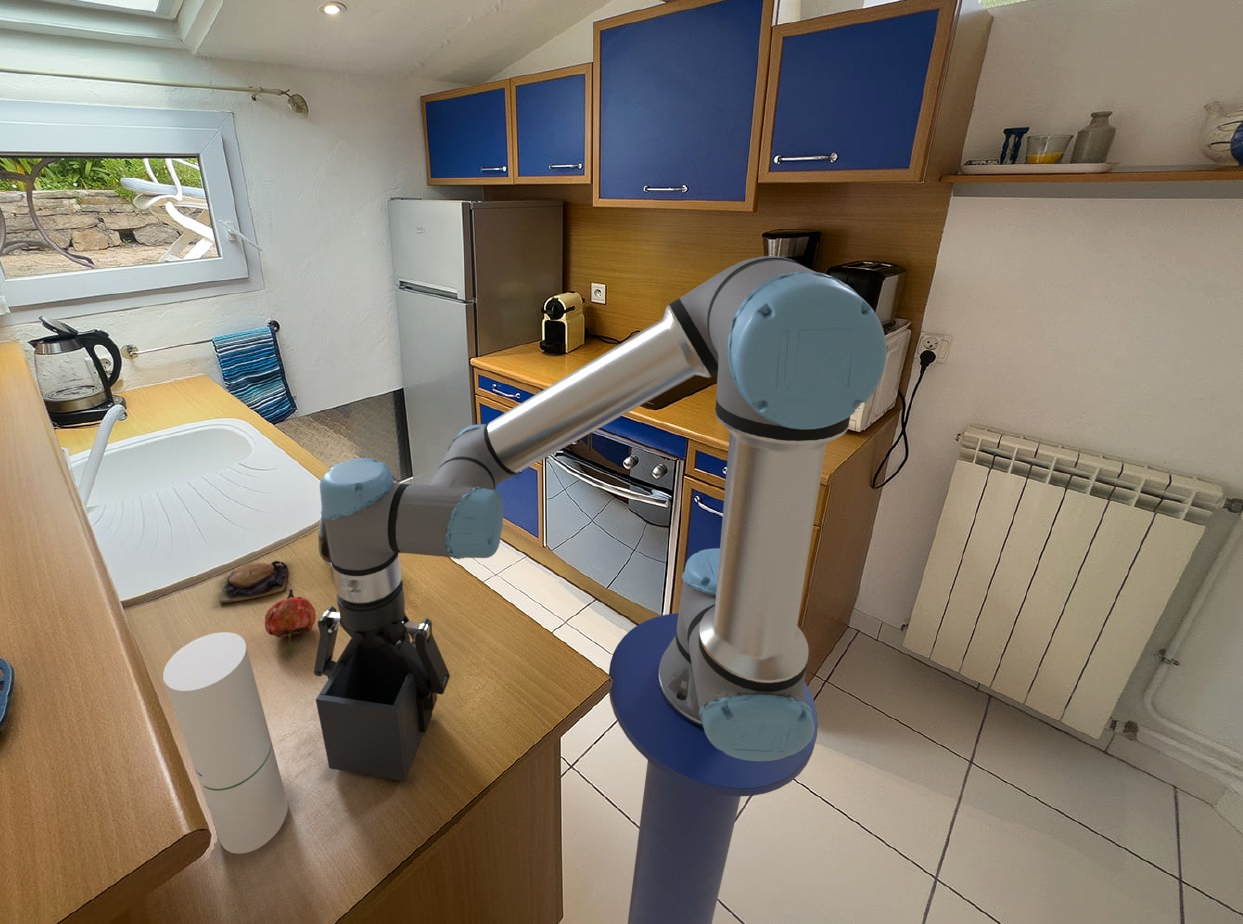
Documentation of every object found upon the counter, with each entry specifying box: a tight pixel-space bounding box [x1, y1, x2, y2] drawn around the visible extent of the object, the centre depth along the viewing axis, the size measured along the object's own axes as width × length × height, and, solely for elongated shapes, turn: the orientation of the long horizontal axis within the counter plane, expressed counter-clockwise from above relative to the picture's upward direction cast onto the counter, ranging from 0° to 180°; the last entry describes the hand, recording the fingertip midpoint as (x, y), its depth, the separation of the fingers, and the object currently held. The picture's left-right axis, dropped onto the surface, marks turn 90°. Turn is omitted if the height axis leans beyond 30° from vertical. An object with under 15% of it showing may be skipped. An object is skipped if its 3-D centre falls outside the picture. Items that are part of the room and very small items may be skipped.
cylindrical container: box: [162, 631, 289, 855], centre depth 60 cm, size 7×7×25 cm
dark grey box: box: [315, 642, 425, 782], centre depth 71 cm, size 10×12×10 cm
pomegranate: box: [264, 588, 317, 656], centre depth 88 cm, size 7×7×10 cm
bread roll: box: [218, 560, 288, 604], centre depth 100 cm, size 11×8×4 cm
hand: (387, 717), depth 74 cm, fingers closed on dark grey box, 10 cm apart
